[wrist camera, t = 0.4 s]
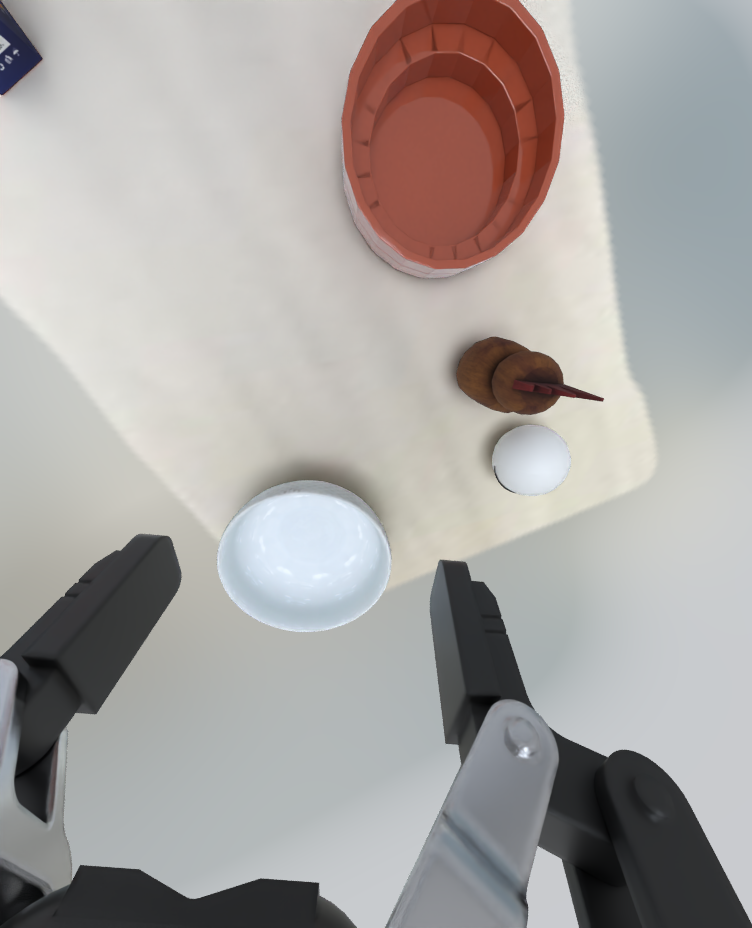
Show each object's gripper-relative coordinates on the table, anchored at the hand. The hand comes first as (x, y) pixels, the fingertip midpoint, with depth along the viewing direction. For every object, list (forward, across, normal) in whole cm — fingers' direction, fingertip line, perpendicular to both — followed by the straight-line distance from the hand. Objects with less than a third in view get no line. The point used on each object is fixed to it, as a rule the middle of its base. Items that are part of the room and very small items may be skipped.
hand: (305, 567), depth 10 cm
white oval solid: (+27, -18, +9) cm, 34 cm away
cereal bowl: (+23, +5, +19) cm, 30 cm away
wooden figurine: (+28, -12, 0) cm, 30 cm away
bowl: (+29, -5, -15) cm, 33 cm away
